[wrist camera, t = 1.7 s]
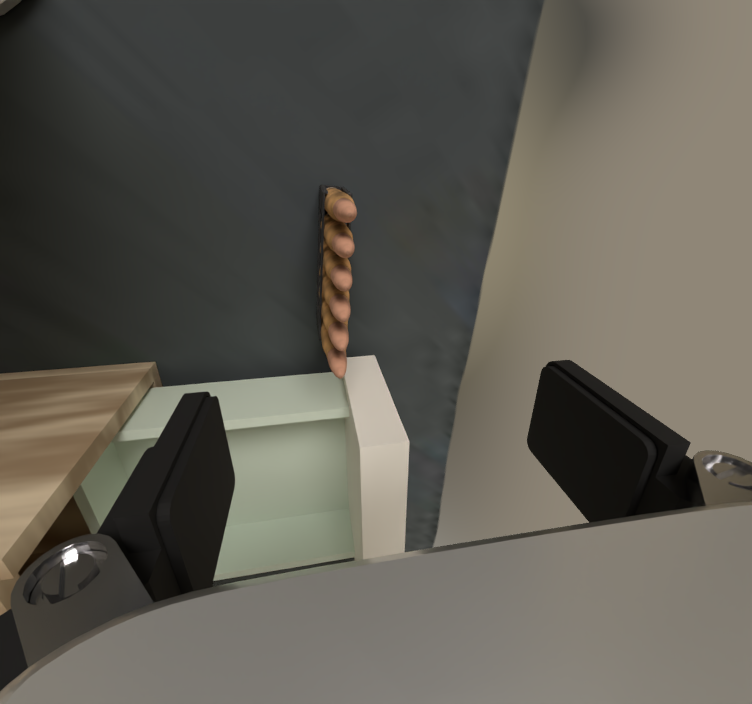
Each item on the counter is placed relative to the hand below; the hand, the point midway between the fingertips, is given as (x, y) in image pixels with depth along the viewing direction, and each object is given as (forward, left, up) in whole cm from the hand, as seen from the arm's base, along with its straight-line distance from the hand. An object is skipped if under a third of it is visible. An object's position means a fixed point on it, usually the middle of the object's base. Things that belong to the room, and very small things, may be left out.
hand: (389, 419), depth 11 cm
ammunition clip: (0, 0, -22) cm, 22 cm away
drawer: (+18, -8, -21) cm, 28 cm away
